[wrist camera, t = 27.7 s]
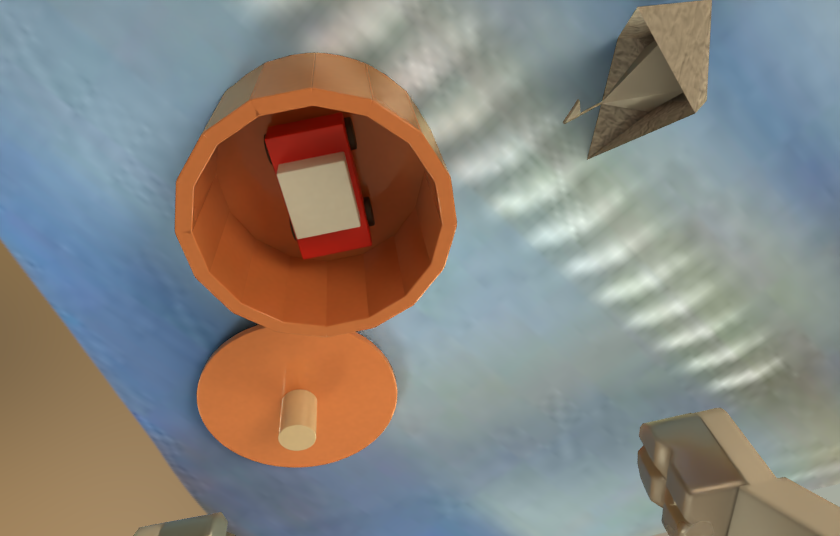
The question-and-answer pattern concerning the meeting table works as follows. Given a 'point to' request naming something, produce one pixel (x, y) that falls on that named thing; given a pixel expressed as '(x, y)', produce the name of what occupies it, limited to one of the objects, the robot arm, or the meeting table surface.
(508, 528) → the meeting table surface
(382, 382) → the lid
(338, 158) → the car
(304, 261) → the pot
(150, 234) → the meeting table surface
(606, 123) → the paper boat
